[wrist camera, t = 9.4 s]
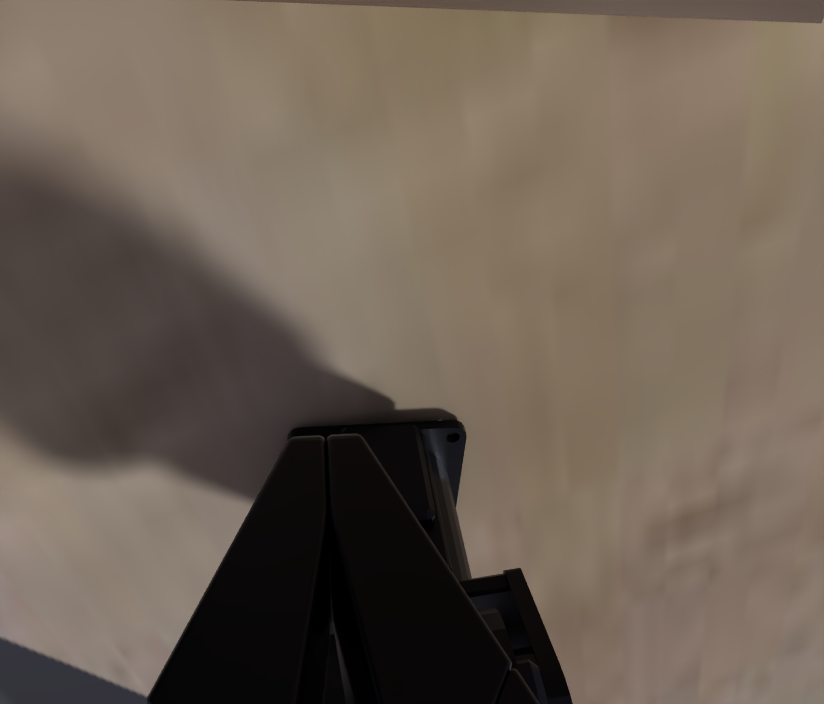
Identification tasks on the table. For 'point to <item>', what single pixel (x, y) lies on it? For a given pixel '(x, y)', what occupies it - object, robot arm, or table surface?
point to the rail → (623, 7)
